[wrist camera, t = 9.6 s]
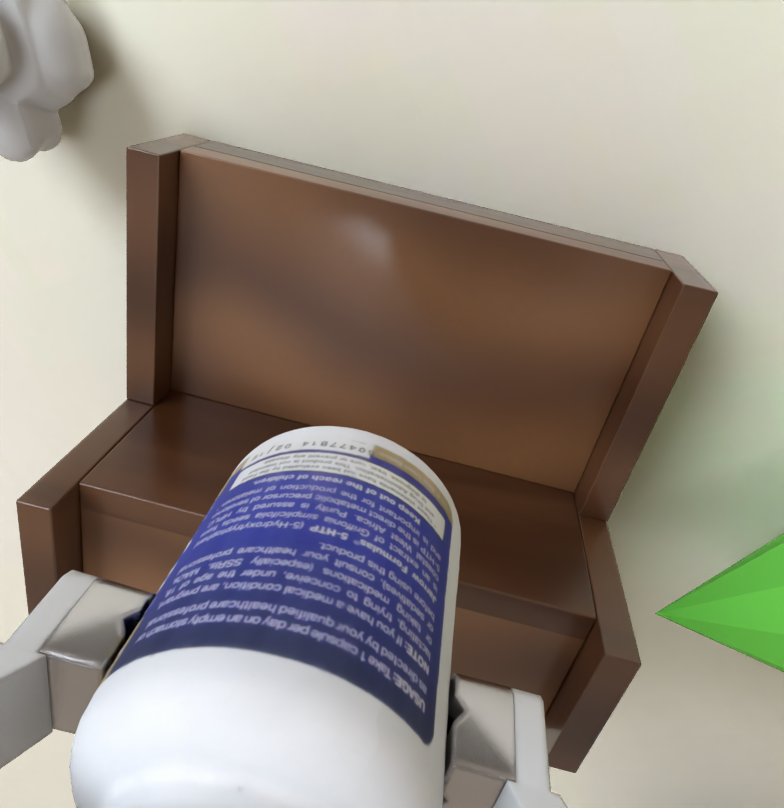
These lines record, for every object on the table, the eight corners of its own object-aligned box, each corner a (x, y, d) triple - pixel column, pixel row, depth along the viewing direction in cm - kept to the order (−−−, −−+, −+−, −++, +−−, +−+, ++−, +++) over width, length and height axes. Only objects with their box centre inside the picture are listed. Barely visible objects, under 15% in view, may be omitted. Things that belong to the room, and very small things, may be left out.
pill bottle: (194, 435, 14) (-204, 932, 6) (436, 401, 12) (340, 972, 5) (270, 617, 16) (56, 1147, 8) (480, 603, 15) (466, 1209, 7)
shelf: (182, 133, 25) (-21, 179, 15) (684, 256, 25) (811, 387, 15) (169, 457, 33) (29, 628, 23) (551, 555, 33) (575, 774, 23)
